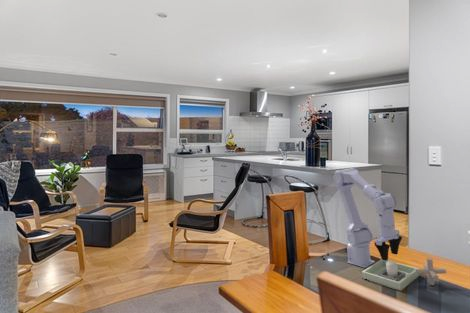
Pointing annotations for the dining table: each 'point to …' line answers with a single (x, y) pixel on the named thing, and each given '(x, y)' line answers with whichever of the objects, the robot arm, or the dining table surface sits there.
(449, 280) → the dining table surface
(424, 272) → the grey toy jack
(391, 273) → the pvc coupling
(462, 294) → the dining table surface
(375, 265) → the walled box
